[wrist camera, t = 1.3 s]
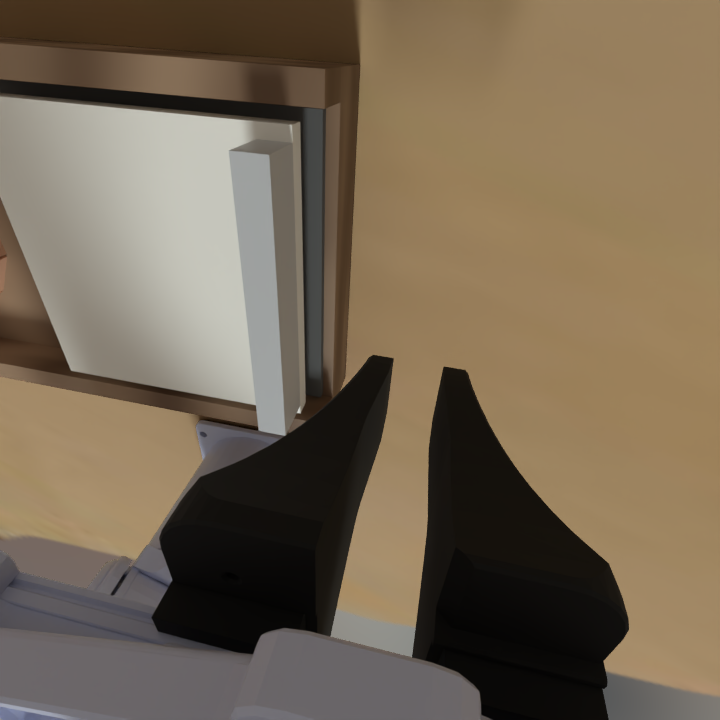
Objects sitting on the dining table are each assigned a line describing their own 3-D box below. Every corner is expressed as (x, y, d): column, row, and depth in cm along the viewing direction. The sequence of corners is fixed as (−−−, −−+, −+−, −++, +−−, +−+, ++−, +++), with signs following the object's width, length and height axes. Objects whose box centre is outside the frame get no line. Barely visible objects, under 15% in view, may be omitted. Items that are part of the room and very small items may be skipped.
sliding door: (300, 121, 14) (268, 135, 12) (305, 402, 21) (285, 444, 19) (-22, 90, 16) (-104, 97, 14) (82, 361, 23) (39, 395, 21)
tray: (360, 64, 17) (324, 68, 13) (345, 377, 25) (321, 438, 21) (-234, 18, 20) (-407, 10, 16) (-69, 305, 29) (-155, 346, 25)
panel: (325, 108, 15) (322, 109, 15) (322, 392, 22) (320, 397, 22) (-6, 77, 17) (-16, 78, 16) (92, 351, 24) (87, 355, 24)
